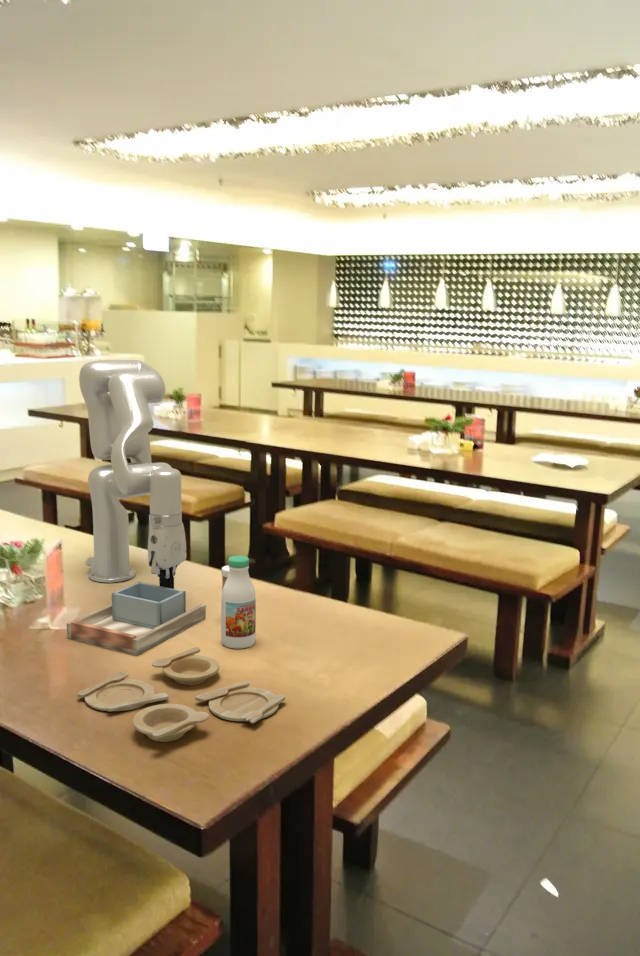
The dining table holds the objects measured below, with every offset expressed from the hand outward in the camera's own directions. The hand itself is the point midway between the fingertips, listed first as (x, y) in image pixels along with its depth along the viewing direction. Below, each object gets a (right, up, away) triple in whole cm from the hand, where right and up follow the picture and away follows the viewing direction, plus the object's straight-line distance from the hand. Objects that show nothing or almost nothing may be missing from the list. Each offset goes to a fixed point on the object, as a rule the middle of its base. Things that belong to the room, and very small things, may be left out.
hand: (166, 591), depth 203 cm
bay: (-5, -7, -8) cm, 12 cm away
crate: (-3, -5, -5) cm, 8 cm away
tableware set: (+11, -16, -45) cm, 49 cm away
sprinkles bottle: (+16, -7, -2) cm, 18 cm away
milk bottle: (+19, -10, -16) cm, 27 cm away
